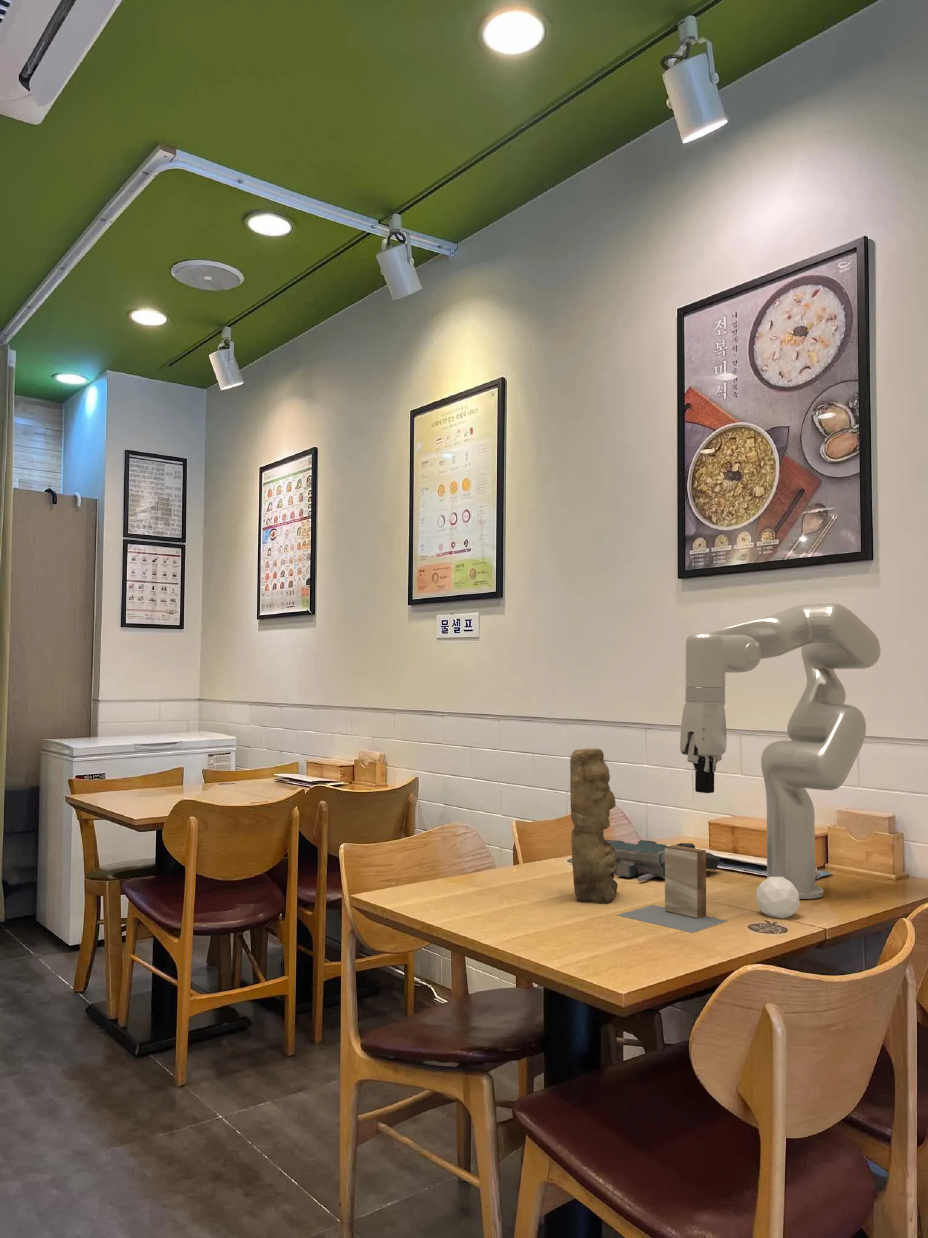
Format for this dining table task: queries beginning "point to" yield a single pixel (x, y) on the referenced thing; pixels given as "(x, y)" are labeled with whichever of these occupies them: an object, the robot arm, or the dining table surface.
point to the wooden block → (685, 881)
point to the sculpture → (591, 827)
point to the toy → (648, 859)
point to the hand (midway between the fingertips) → (704, 792)
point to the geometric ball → (777, 897)
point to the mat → (671, 919)
